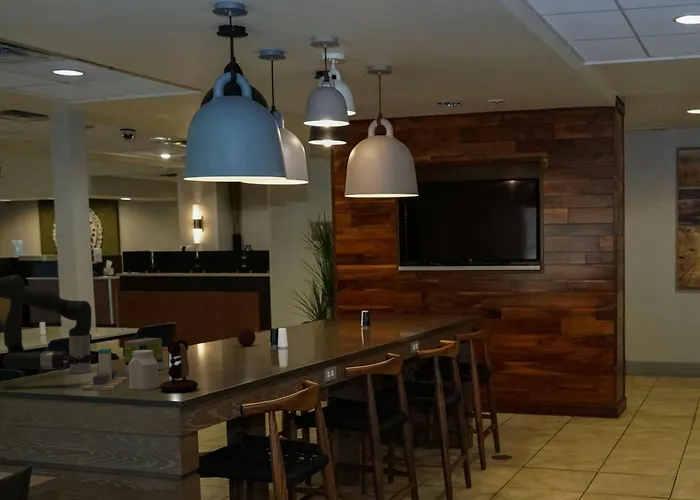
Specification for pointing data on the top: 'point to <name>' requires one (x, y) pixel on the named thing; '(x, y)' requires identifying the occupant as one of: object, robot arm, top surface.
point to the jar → (143, 370)
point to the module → (105, 362)
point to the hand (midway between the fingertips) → (92, 358)
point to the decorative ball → (246, 337)
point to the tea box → (144, 344)
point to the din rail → (104, 379)
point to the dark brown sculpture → (178, 368)
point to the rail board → (107, 387)
